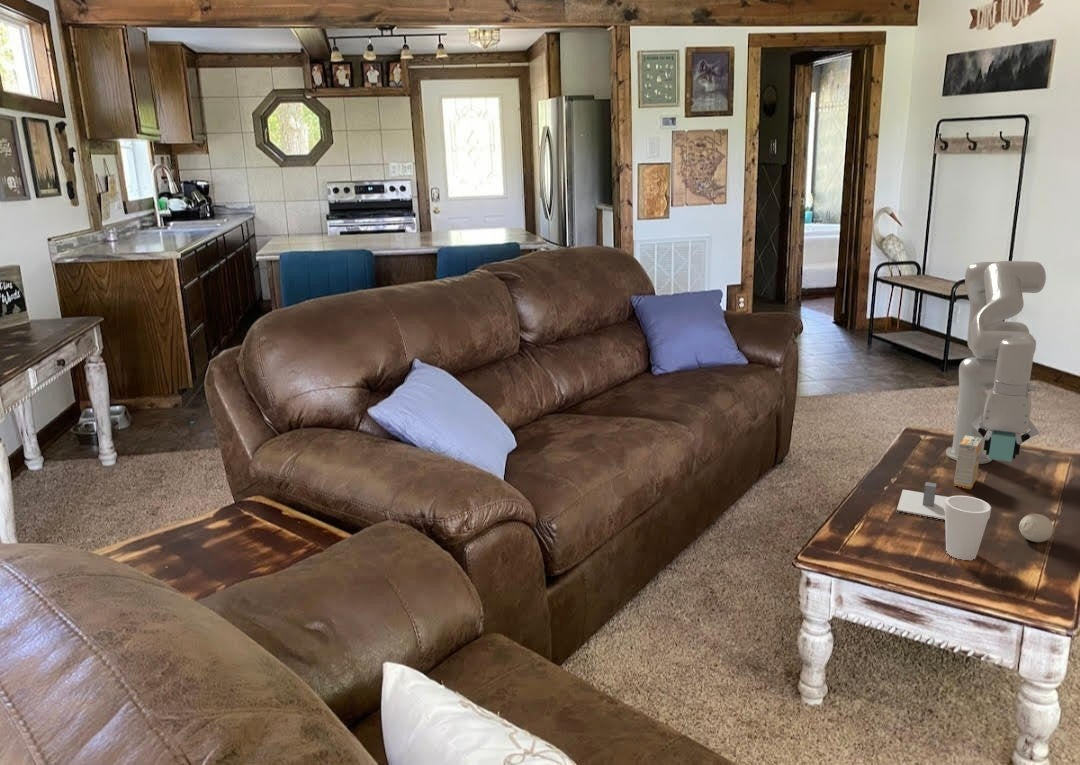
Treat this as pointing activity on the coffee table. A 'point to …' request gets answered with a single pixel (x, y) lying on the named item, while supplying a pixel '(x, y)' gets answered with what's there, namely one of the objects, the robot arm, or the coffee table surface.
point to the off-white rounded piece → (1036, 527)
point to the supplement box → (967, 461)
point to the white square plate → (923, 502)
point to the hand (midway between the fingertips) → (1000, 454)
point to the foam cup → (965, 525)
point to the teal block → (1002, 446)
